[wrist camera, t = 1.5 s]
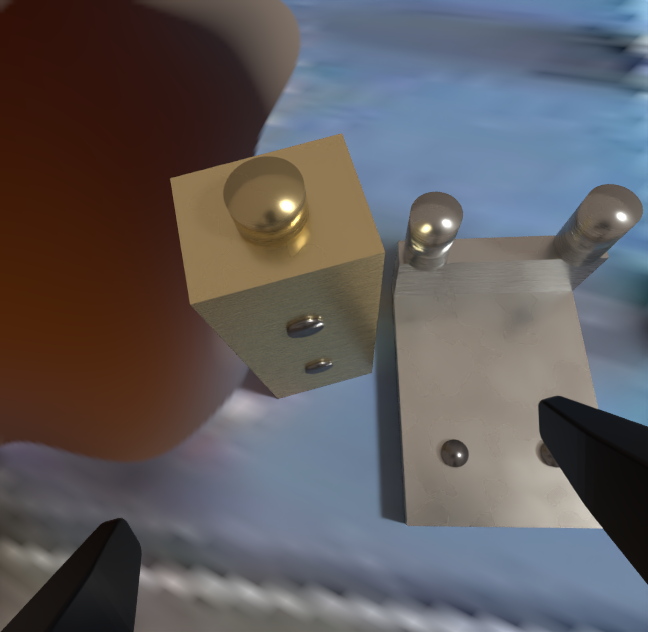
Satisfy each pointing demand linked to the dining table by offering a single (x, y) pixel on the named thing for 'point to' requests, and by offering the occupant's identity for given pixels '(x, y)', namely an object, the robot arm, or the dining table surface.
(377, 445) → the dining table surface
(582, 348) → the fixed leaf
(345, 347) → the loose leaf
